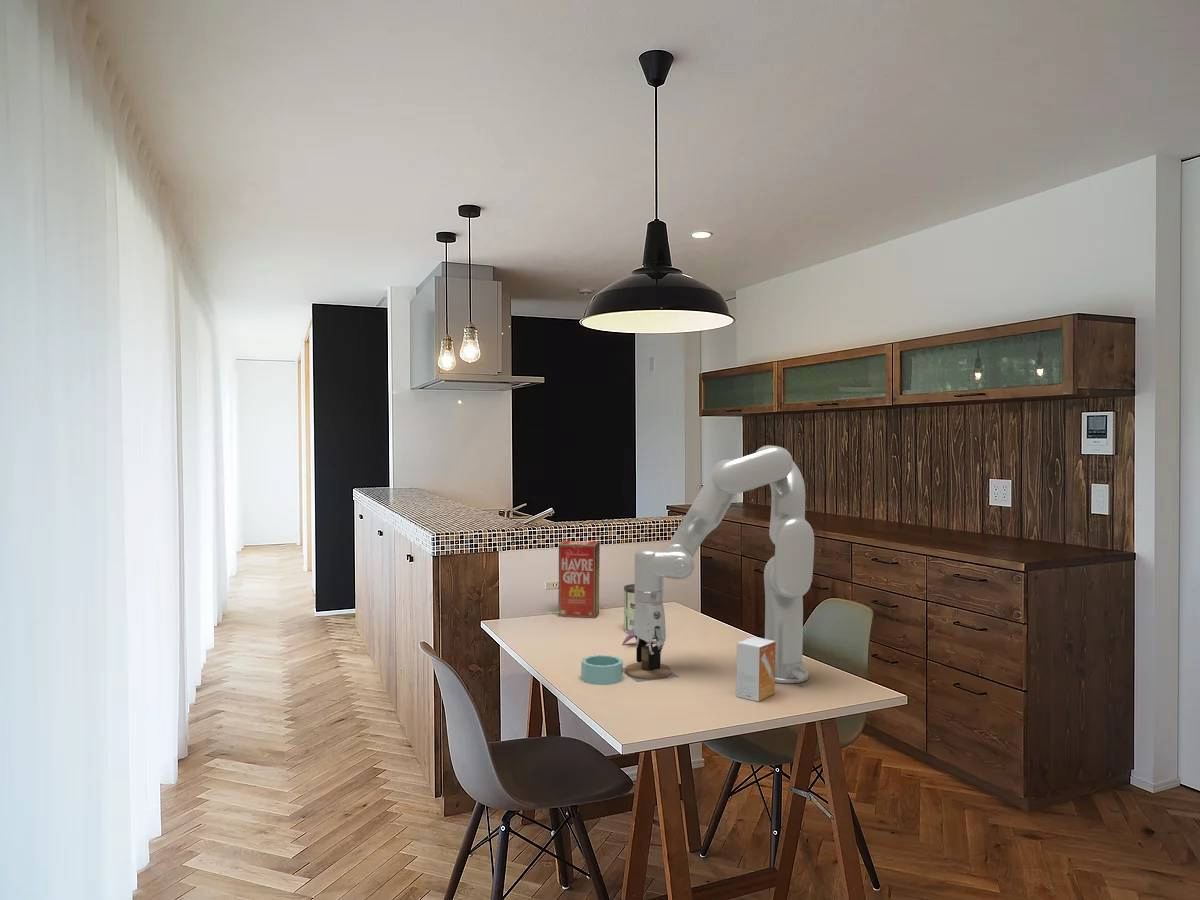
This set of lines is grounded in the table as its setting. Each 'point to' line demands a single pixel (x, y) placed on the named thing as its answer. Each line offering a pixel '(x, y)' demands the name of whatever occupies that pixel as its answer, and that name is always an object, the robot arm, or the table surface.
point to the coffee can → (629, 607)
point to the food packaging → (578, 579)
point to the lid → (646, 668)
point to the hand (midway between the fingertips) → (648, 664)
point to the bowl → (602, 669)
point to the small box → (755, 668)
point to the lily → (629, 635)
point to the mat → (649, 680)
